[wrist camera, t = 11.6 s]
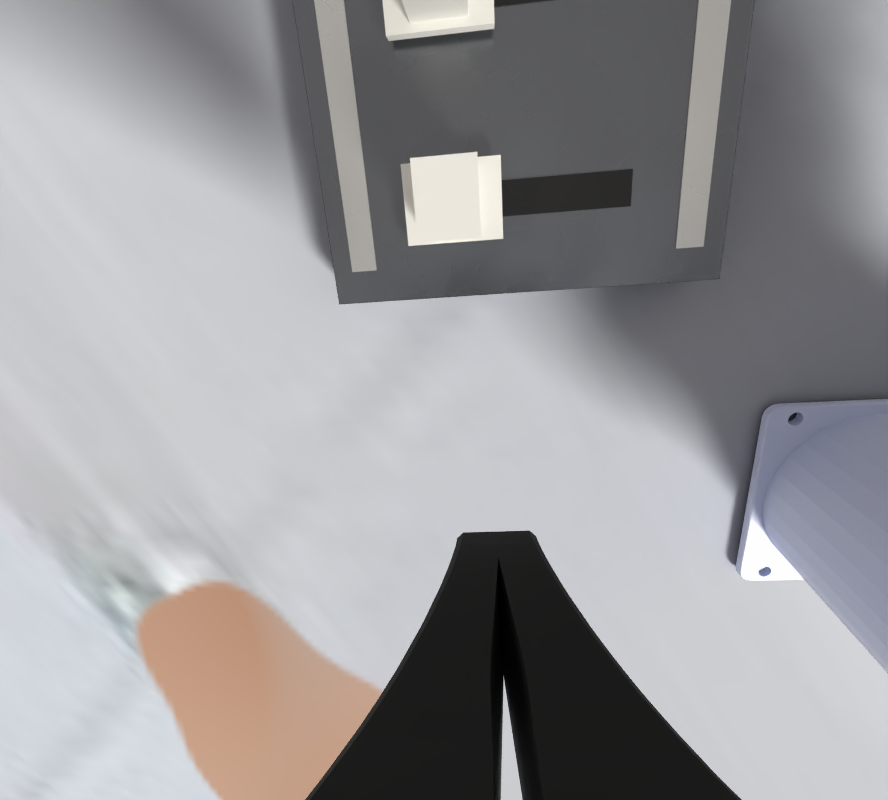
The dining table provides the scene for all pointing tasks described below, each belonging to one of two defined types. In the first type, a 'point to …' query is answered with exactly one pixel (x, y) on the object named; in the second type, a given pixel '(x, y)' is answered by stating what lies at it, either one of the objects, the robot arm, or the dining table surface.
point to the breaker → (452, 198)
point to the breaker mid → (436, 17)
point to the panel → (531, 141)
